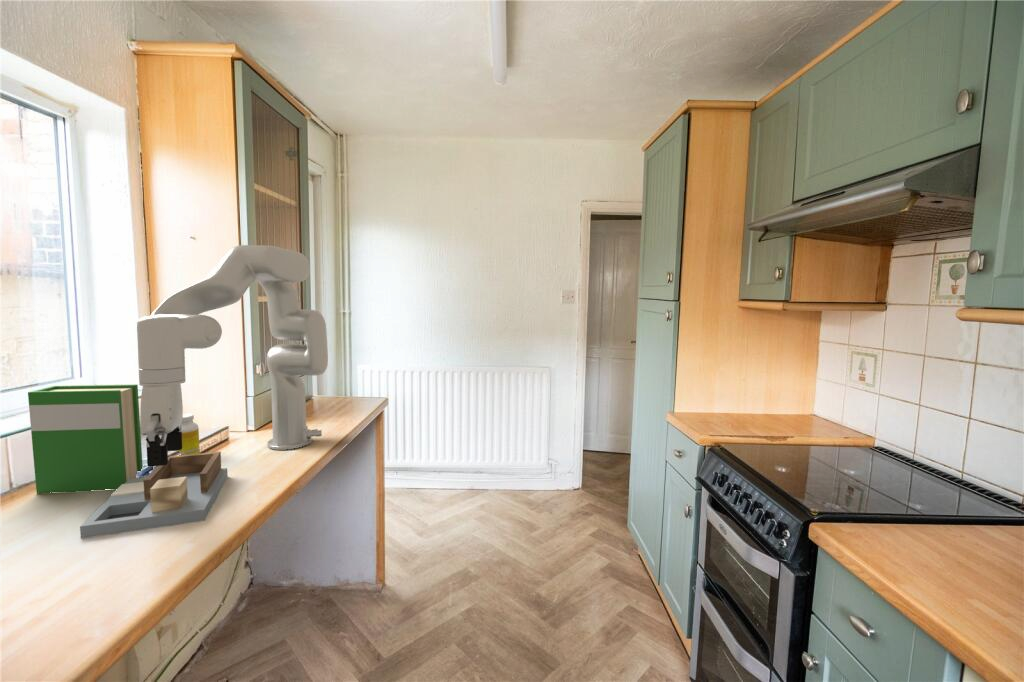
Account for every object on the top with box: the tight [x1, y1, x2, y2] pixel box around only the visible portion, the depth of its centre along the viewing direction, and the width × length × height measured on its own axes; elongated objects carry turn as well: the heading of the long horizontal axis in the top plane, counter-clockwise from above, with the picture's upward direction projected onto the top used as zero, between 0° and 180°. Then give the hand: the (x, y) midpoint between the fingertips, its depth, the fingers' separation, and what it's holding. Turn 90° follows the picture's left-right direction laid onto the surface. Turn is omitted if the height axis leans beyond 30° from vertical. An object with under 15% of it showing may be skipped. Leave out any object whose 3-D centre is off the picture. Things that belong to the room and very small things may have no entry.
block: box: [150, 477, 188, 513], centre depth 94 cm, size 5×5×5 cm
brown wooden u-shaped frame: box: [143, 451, 222, 500], centre depth 105 cm, size 11×15×4 cm
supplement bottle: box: [176, 413, 201, 455], centre depth 125 cm, size 7×7×13 cm
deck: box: [79, 467, 228, 539], centre depth 101 cm, size 20×24×3 cm
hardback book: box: [27, 384, 144, 495], centre depth 108 cm, size 18×7×24 cm, turn 101°
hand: (165, 457), depth 93 cm, fingers open, 9 cm apart
